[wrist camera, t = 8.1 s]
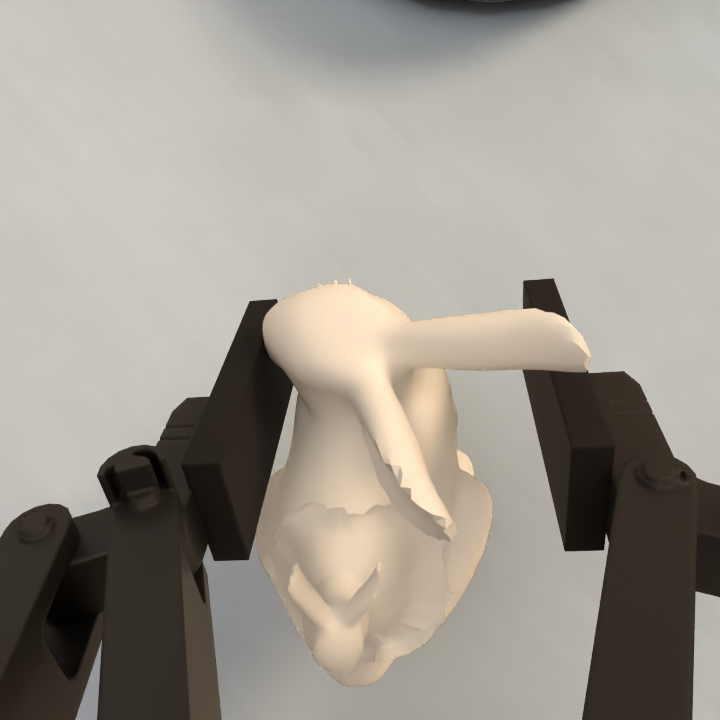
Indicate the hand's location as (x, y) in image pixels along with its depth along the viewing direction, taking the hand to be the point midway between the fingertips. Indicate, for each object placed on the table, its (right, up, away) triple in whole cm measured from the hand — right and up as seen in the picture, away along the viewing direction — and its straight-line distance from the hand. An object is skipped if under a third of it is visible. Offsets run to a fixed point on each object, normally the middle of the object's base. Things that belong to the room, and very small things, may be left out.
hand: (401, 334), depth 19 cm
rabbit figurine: (+1, -4, +3) cm, 5 cm away
